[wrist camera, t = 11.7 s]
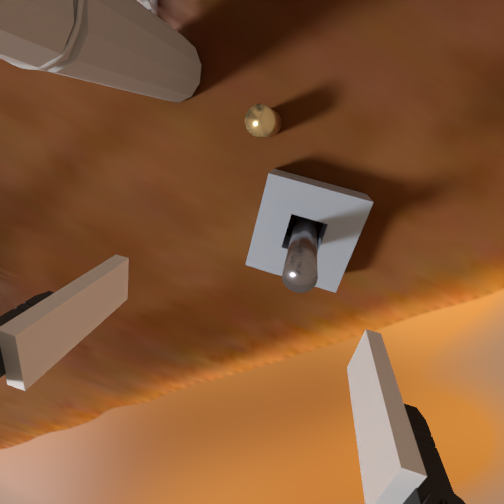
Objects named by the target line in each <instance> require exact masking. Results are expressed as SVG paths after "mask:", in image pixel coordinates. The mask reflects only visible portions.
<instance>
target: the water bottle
mask: <svg viewBox="0 0 504 504" xmlns="http://www.w3.org/2000/svg"><path fill="white" fill-rule="evenodd" d="M141 1H142V3H143V5H142V4H140V3H139V2H138V1H136V0H0V58H1V59H4V60H6V61H7V62H9V63H11V64H12V65H15V66H17V67H19V68H24V69H29V70H41V71H47V72H52V73H56V74H60V75H64V76H68V77H72V78H76V79H81V80H85V81H89V82H93V83H97V84H101V85H106V86H110V87H114V88H118V89H122V90H126V91H130V92H135V93H139V94H143V95H147V96H151V97H155V98H159V99H164V100H168V101H173V102H181V101H183V100H185V99H187V98H189V97H191V96H192V95H193V93H194V91H195V90H196V88H197V87H198V85H199V84H200V75H201V63H200V60H199V57H198V54H197V51H196V48H195V47H194V46H193V45H192V44H191V43H190V42H189V41H188V40H187V39H186V38H185V37H184V36H182V35H181V34H180V33H178V32H177V31H176V30H175V29H173V28H172V27H171V26H169V25H168V24H167V23H165V22H164V21H163V20H161V19H160V18H159V17H157V16H156V15H155V14H153V13H152V12H151V5H150V1H149V0H141Z"/></svg>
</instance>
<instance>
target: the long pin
mask: <svg viewBox="0 0 504 504" xmlns="http://www.w3.org/2000/svg"><path fill="white" fill-rule="evenodd" d="M282 280H283V283H284V284H285V286H286V287H287V288H288V289H290V290H291V291H294V292H298V293H304V292H307V291H310V290H311V289H312V288H314V286H315V285H316V283H317V280H318V270H317V223H316V221H314V220H311V219H307V218H304V217H300V216H298V217H297V218H296V220H295V222H294V226H293V230H292V235H291V239H290V243H289V247H288V252H287V256H286V260H285V264H284V269H283V273H282Z"/></svg>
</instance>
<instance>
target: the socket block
mask: <svg viewBox="0 0 504 504" xmlns="http://www.w3.org/2000/svg"><path fill="white" fill-rule="evenodd" d="M373 203H374V202H373V201H372V200H371V199H370V198H369V196H368V195H367V194H365V193H361V192H358V191H354V190H350V189H347V188H343V187H339V186H336V185H332V184H328V183H325V182H321V181H318V180H314V179H310V178H307V177H303V176H299V175H296V174H292V173H288V172H285V171H281V170H277V169H273V170H272V171H271V172H270V173H269V174H268V178H267V182H266V186H265V190H264V194H263V198H262V202H261V206H260V210H259V213H258V217H257V221H256V225H255V229H254V233H253V237H252V241H251V245H250V249H249V253H248V257H247V260H246V264H245V265H247V266H251V267H254V268H257V269H260V270H264V271H267V272H270V273H273V274H277V275H280V276H282V273H283V269H284V264H285V260H286V256H287V252H288V247H289V243H290V239H291V236H288V235H285V234H286V230H287V227H288V224H289V221H290V217H291V214H293V215H297V216H300V217H304V218H307V219H311V220H314V221H318V222H321V223H323V225H322V228H321V231H320V233H319V236H318V239H317V270H318V280H317V283H316V285H315V287H319V288H322V289H325V290H328V291H332V292H335V293H336V290H337V288H338V286H339V283H340V281H341V279H342V276H343V274H344V271H345V269H346V267H347V264H348V262H349V260H350V257H351V255H352V253H353V250H354V248H355V245H356V243H357V241H358V238H359V236H360V234H361V231H362V229H363V226H364V224H365V222H366V219H367V217H368V215H369V212H370V210H371V207H372V205H373Z"/></svg>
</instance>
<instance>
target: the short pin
mask: <svg viewBox="0 0 504 504" xmlns="http://www.w3.org/2000/svg"><path fill="white" fill-rule="evenodd" d="M245 125H246V128H247V130H248V131H249V133H251V134H252V135H254V136H257V137H271V136H274V135H276V134H277V133H278V132H279V131H280V129H281V125H282V121H281V117H280V115H279V114H278V113H277V112H276V111H274V110H272V109H271V108H269V107H268V106H266V105H263V104H257V105H254V106H252V107H251V108H250V109H249V110H248V112H247V114H246V116H245Z"/></svg>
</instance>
